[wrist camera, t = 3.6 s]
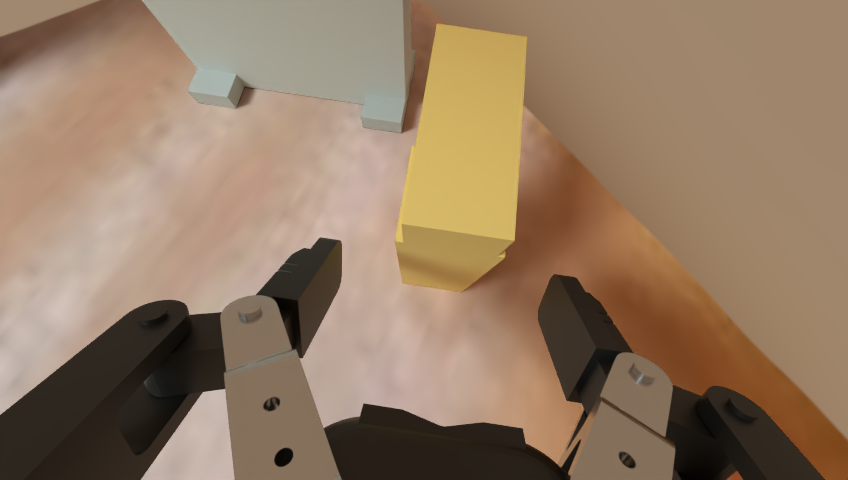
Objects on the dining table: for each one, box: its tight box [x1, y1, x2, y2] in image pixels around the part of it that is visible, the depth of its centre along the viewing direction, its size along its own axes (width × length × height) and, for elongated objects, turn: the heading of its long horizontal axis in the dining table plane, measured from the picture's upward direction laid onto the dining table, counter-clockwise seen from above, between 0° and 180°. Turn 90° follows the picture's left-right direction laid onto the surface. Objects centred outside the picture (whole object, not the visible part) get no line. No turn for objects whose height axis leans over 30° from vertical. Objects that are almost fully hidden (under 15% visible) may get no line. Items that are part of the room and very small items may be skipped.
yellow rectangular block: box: [395, 23, 527, 292], centre depth 16 cm, size 4×8×12 cm, turn 172°
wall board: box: [142, 0, 415, 133], centre depth 19 cm, size 16×7×12 cm, turn 82°
